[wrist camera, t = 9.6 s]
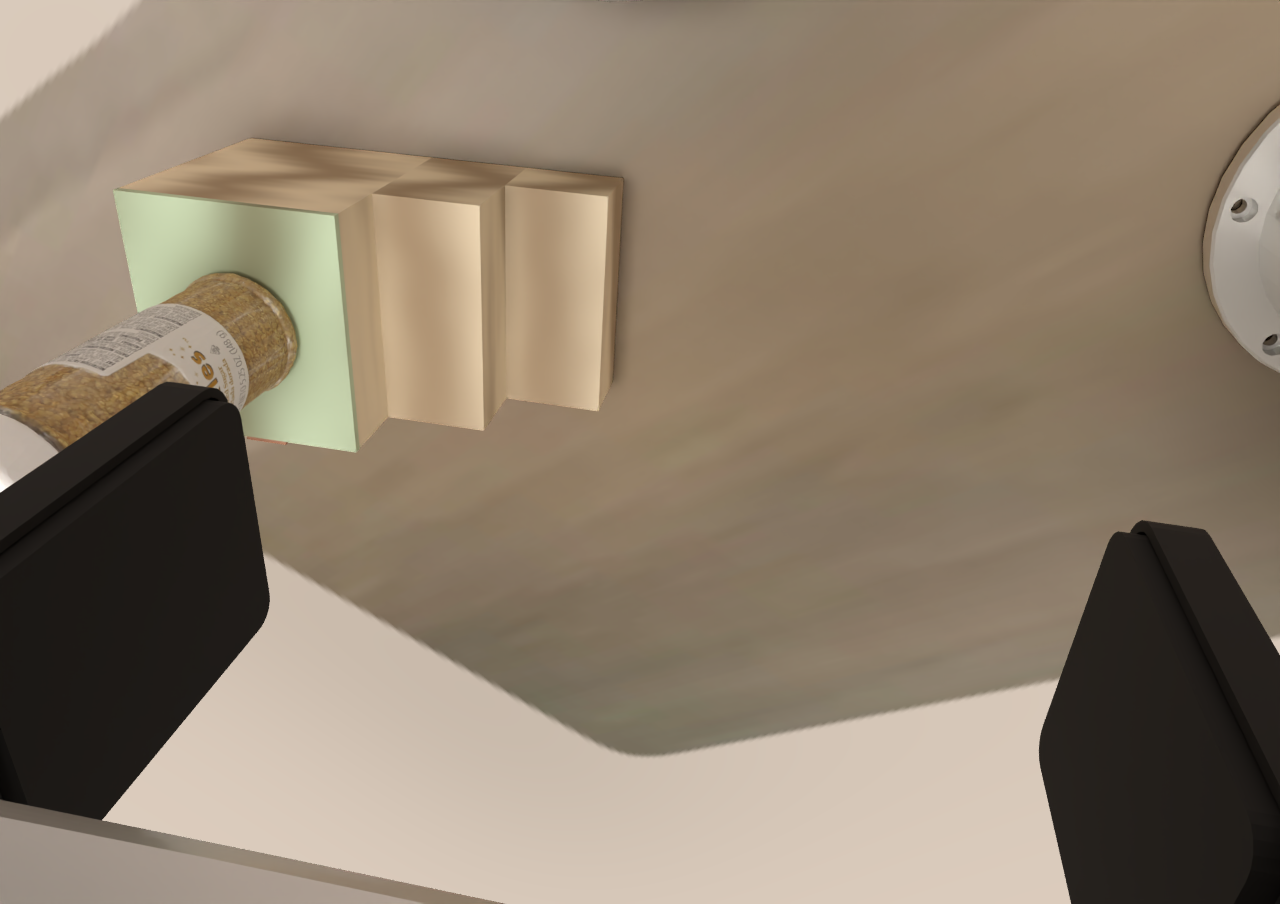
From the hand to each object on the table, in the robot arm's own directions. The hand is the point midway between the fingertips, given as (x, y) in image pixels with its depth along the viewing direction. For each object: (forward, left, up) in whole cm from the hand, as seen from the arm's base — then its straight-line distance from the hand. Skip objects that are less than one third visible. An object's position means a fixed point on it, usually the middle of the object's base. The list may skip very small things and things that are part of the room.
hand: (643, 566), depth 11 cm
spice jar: (+18, +8, -21) cm, 29 cm away
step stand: (+14, +8, -30) cm, 34 cm away
